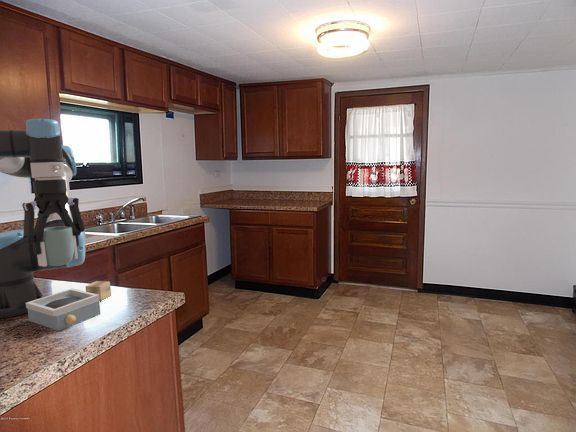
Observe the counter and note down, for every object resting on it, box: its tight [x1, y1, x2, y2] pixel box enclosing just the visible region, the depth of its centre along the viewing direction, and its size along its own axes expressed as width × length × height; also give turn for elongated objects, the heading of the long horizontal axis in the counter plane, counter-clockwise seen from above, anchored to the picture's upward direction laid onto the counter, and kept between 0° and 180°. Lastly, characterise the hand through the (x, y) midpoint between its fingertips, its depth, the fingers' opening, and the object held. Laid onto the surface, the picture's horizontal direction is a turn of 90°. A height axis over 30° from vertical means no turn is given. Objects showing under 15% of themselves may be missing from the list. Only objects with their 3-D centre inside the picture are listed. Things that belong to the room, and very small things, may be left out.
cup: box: [41, 226, 74, 266], centre depth 105 cm, size 8×8×10 cm
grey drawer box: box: [26, 288, 101, 331], centre depth 108 cm, size 15×13×6 cm
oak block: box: [85, 280, 112, 302], centre depth 123 cm, size 5×5×5 cm
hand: (58, 261), depth 106 cm, fingers closed on cup, 8 cm apart
